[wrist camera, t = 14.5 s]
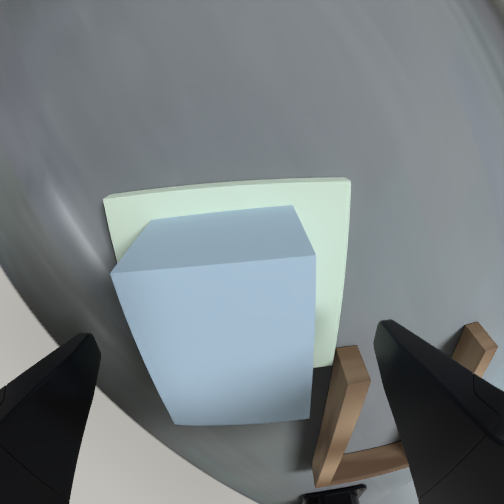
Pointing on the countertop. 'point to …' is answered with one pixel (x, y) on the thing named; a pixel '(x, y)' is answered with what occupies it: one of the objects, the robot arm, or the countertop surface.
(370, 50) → the countertop surface
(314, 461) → the u-shaped frame
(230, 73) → the countertop surface
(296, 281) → the block
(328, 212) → the mat
